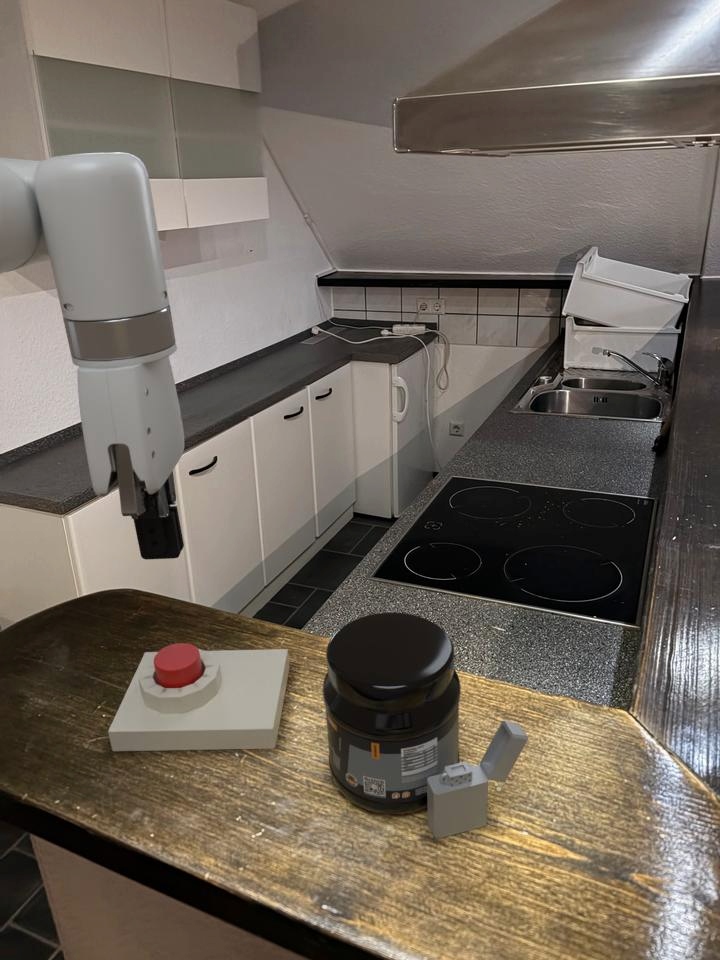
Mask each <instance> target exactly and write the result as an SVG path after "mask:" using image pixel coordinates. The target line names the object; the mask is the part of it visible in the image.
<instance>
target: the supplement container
mask: <svg viewBox="0 0 720 960" xmlns="http://www.w3.org/2000/svg"><path fill="white" fill-rule="evenodd" d="M325 655H326V656H325V657H326V668H327V669H326V670H327V672H326V674H325V677H324V679H323V684H322V701H323V704H324V707H325V719H326V731H327V743H328V767H329V772H330V776H331V778H332V781H333V782H334V784H335V786H336V788H337V789H338V790H339V791H340V793H341V794H342V795H343V796H344V797H345V798H346V799H347V800H349V801H350V802H352V803H353V804H355V805H357V806H358V807H360V808H363V809H365V810H368V811H370V812H373V813H377V814H378V813H379V814H385V815H403V814H409V813H414V812H418V811H421V810H424V809H427V779H428V777H431V776H435V775H439V774H442V772H443V771H444V770H445V766H449V765H453V764H457V763H460V750H459V742H460V741H459V739H460V738H459V737H460V736H459V733H460V732H459V731H460V730H459V728H460V727H459V726H460V725H459V724H460V723H459V722H460V721H459V720H460V718H459V717H460V700H461V693H462V692H461V690H462V686H461V680H460V676H459V675H458V673H457V671H456V669H455V648H454V644H453V640H452V639H451V637H450V636H449V634H448V633H447V632H446V630H444V628H442V627H441V626H439V625H438V624H436V623H435V622H433V621H432V620H430V619H427V618H424V617H422V616H419V615H415V614H411V613H404V612H379V613H372V614H368V615H364V616H361V617H359V618H356V619H354V620H351V621H350V622H348V623H346V624H344V625H343V626H341V627H340V628H339V629H338V630H337V631H336V632H334V634H333V635H332V636H331V638H330V640H329V641H328V644H327V647H326V654H325Z"/></svg>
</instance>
